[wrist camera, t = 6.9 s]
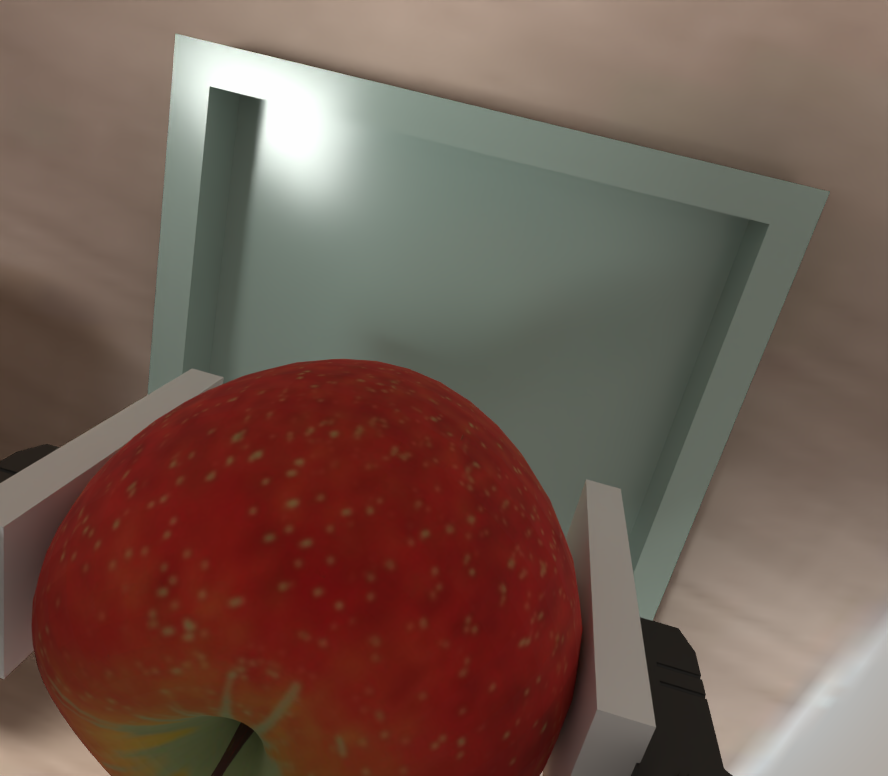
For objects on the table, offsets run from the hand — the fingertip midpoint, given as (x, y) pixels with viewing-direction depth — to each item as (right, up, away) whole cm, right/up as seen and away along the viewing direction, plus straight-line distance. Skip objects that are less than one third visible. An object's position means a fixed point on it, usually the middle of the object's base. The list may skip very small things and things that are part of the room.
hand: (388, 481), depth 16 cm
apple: (0, 0, +1) cm, 1 cm away
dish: (+1, +2, +6) cm, 6 cm away
